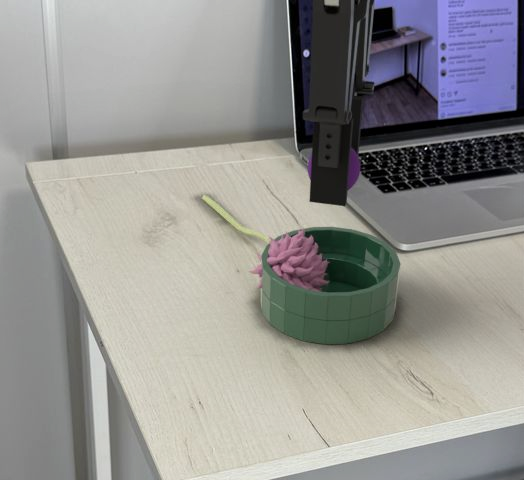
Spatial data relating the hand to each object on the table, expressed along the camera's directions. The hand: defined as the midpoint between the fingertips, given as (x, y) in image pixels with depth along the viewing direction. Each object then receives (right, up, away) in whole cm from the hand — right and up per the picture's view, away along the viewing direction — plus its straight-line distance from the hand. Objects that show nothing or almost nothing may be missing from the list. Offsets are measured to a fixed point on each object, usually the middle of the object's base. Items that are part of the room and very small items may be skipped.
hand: (333, 188), depth 68 cm
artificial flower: (-7, -4, +13) cm, 16 cm away
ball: (0, +1, -1) cm, 2 cm away
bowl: (0, -9, +7) cm, 11 cm away
